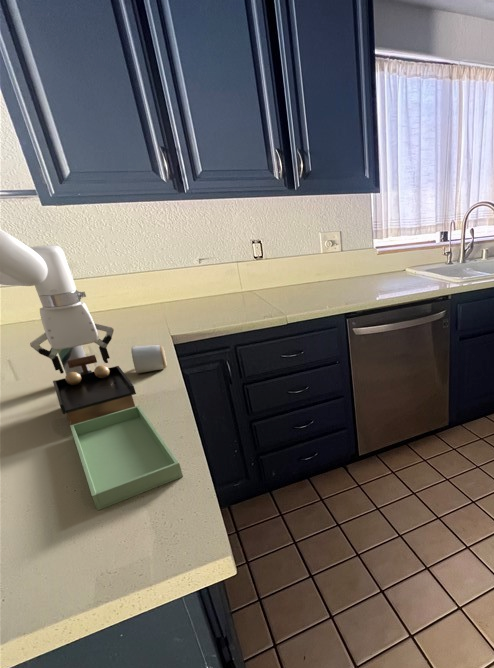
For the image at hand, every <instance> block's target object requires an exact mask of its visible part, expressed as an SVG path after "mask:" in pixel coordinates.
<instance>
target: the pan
mask: <svg viewBox="0 0 494 668" xmlns="http://www.w3.org/2000/svg"><path fill="white" fill-rule="evenodd" d="M67 363H68V366H69V368H74V367H79V366H81V367H82V370H83V372H81V373H80V374H81V378H82V379H81V382H80V383H79V384H77V385H70V384H68V383H67V382H66V380H65V377H64V378H61V379H56V380H52V384H53V387H54V390H55V394H56V398H57V401H58V403H59V407H60V409H61V412H62V414H63V415H64V414H67V413H69V412H72V411H76V410H80V409H83V408H87V407H91V406H94V405H98V404H101V403H105V402H109V401H112V400H116V399H120V398H123V397H127V396H131V395H132V396H134V395H137V393H136V389H135V386H134V384H133V382H132V381H131V380H130V379H129V378H128V377H127V375H126V373H125V372H124V371H123V370H122V369H121V367H120V365H116V366H112V367H108V369H109V371H110V373H109V375H108V376H107V377H106V378H99V377H97V376H96V375H95V373H94V371H92V370H91V369H90V371H88V369H87V367H86V365H88V364H89V365H92V364H96V363H98V360H97V356H96V354H93V355H87V356H86V357H82V358H77V359H73V360H68V361H67Z"/></svg>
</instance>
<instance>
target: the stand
mask: <svg viewBox="0 0 494 668" xmlns="http://www.w3.org/2000/svg"><path fill="white" fill-rule="evenodd" d="M135 406H136V403H135V401H134V398H133V395H131V396H127V397H123V398H120V399H116V400H112V401H109V402H105V403H101V404H98V405H94V406H91V407H87V408H83V409H80V410H76V411H72V412H69V413H66V416H67V419H68V421H69V424H70V425H73V424H77V423H80V422H84V421H87V420H91V419H94V418H97V417H101V416H104V415H108V414H111V413H115V412H118V411H122V410H125V409H129V408H132V407H135Z"/></svg>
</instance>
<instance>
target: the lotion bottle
mask: <svg viewBox="0 0 494 668" xmlns="http://www.w3.org/2000/svg"><path fill="white" fill-rule="evenodd" d="M57 355H58V358H59V361H60V363H61V366H62V369H63V371H64V372H65V376H66V375H67V374H68V373H70V372H77V373H79V374H80V373H81V372H83V370H82V367H81V366H79V367H74V368H69V366H68V363H67V361H68V360H73V359H77V358H82V357H87V356H86V353H85V350H84V348H83V345H81V346H76V347H71V348H66V349H60V350H59V351H58V353H57ZM86 367H87V369H88V371H90V370H91V367H90V364H88V365H86ZM80 375H81V374H80Z"/></svg>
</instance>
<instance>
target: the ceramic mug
mask: <svg viewBox="0 0 494 668" xmlns="http://www.w3.org/2000/svg"><path fill="white" fill-rule="evenodd" d="M130 352H131V358H132V363H133V367H134V370H135V372H136V374H142V373H143V374H144V373H149V372H155V371H161V370H164V369H166V368H167V367H168V362H167V356H166V351H165V348H164V346H163V345H161V344H152V345H139V346H132V347H131V351H130Z"/></svg>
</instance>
